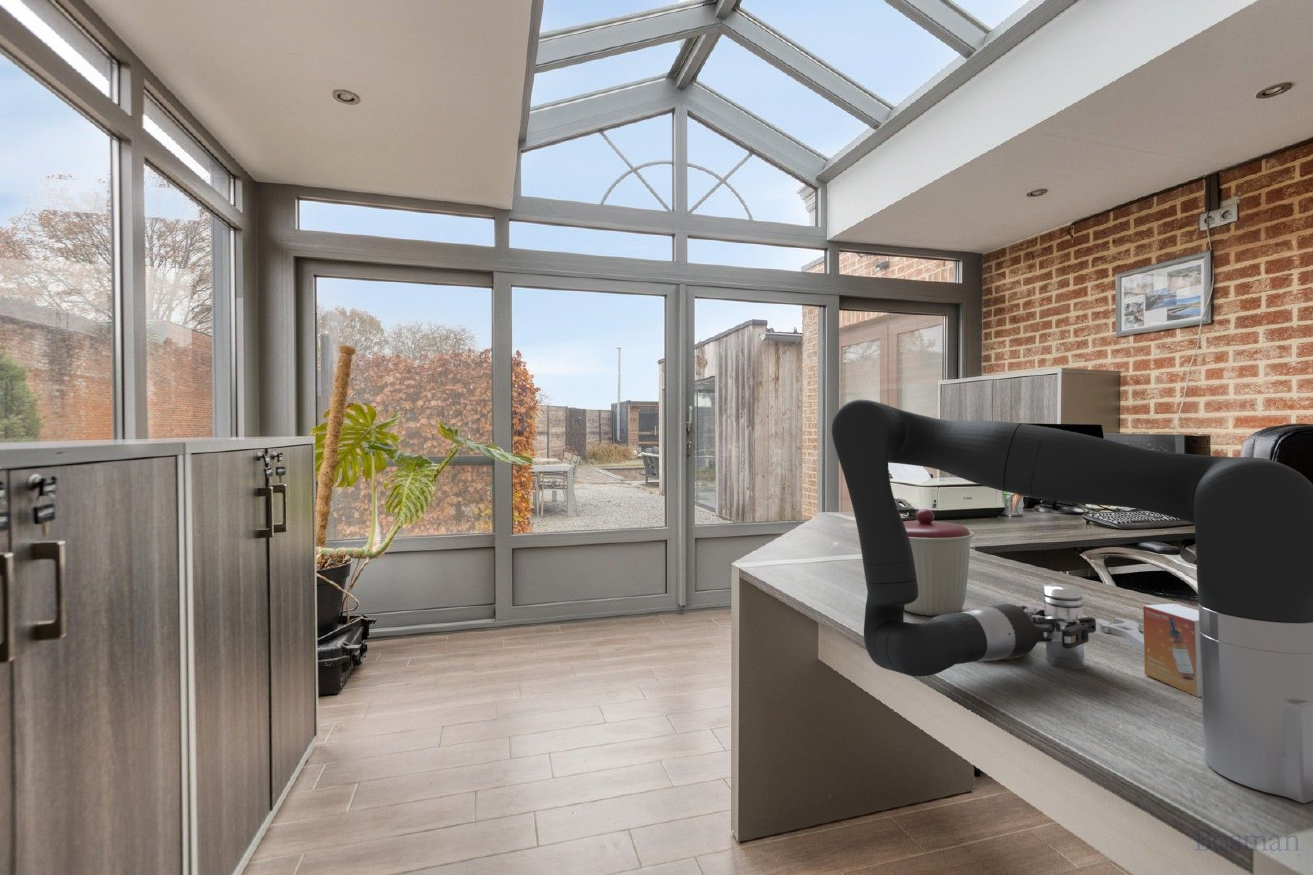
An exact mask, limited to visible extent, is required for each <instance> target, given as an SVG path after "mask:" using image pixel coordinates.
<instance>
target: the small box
mask: <svg viewBox="0 0 1313 875" xmlns="http://www.w3.org/2000/svg"><path fill="white" fill-rule="evenodd" d="M1142 607H1143V610H1142V612H1143V635H1144V650H1143V657H1144V659H1143V660H1144V662H1143V663H1144V675H1146V676H1148V677H1151V678H1154V679H1155V680H1158V681H1160V682H1162V683H1165V684H1166V685H1169V686H1172V687H1173V688H1175V689H1178V690H1181V691H1182V692H1184V691H1185V692H1184V693H1187V694H1189V693H1190V694H1192V695H1191V696H1193V695H1194V696H1193V697H1195V696H1196V697H1195V698H1202V687H1201V661H1200V636H1199V609H1194V608H1191V607H1187V606H1185V605H1181V604H1178V603H1165V604H1164V603H1163V604H1162V603H1161V604H1145V605H1143V606H1142ZM1190 694H1189V695H1190Z"/></svg>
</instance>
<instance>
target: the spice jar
mask: <svg viewBox="0 0 1313 875" xmlns="http://www.w3.org/2000/svg"><path fill="white" fill-rule="evenodd" d="M1083 605H1084V604H1083V588H1082V587H1080V586H1077V585H1074V584H1067V583H1055V582H1054V583H1045V584H1044V585H1043V606H1044V608H1043V609H1044V610H1045V617H1049V616H1058V617H1060V618H1062V619H1064V620H1066V619H1079V618H1084V616H1083V612H1084V611H1083V610H1084V609H1083ZM1053 623H1054V626H1055V632H1056V625H1055V622H1053ZM1067 627H1070V625H1066V626H1065V628H1067ZM1045 660H1046V662H1047V664H1049V665H1051V666H1054V667H1057V668H1061V669H1068V670H1081V669H1084V668H1085V667H1086V666H1085V643H1084V644H1081V645H1079V646H1076V647H1074V648H1069V649H1067V648H1064V647H1062V641H1050V642H1046V643H1045Z"/></svg>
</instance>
